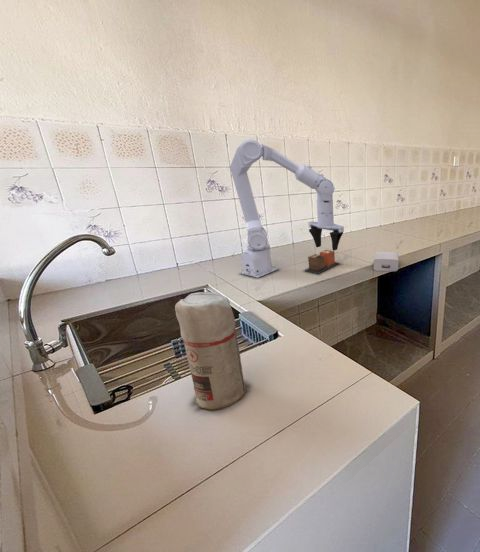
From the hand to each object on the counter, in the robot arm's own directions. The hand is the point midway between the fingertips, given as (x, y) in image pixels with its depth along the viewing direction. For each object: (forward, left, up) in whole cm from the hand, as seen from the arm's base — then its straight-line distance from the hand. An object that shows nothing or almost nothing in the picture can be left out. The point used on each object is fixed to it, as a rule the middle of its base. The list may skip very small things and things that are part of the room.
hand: (326, 248), depth 126 cm
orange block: (0, 0, -6) cm, 6 cm away
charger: (+13, -19, -7) cm, 24 cm away
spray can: (-67, -26, -7) cm, 73 cm away
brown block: (-6, 0, -6) cm, 9 cm away
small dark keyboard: (-3, 0, -7) cm, 7 cm away
